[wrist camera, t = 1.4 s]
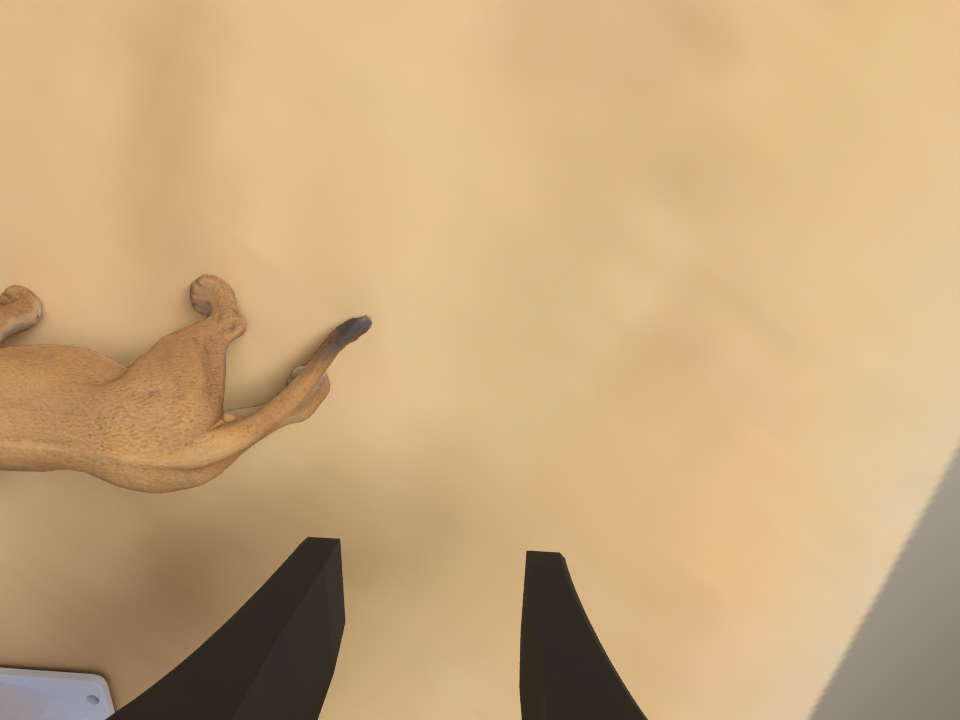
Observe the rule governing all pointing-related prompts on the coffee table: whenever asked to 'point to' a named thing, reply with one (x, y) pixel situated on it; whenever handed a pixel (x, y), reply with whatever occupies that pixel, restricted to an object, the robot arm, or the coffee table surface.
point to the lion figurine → (144, 399)
